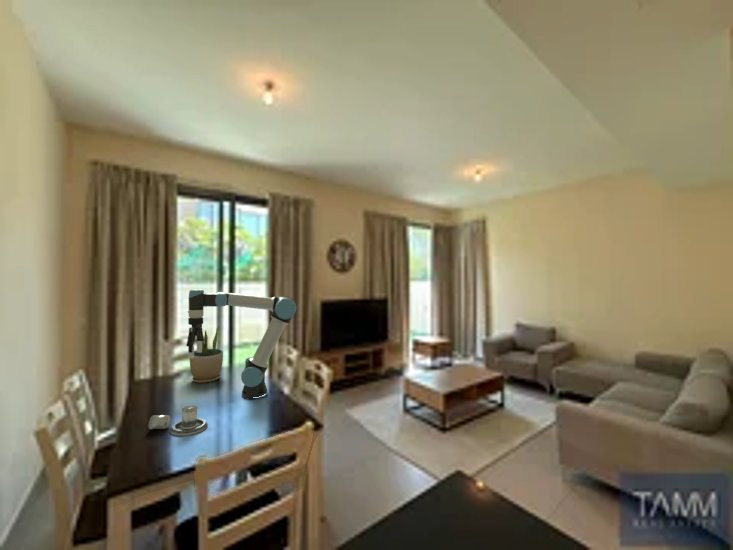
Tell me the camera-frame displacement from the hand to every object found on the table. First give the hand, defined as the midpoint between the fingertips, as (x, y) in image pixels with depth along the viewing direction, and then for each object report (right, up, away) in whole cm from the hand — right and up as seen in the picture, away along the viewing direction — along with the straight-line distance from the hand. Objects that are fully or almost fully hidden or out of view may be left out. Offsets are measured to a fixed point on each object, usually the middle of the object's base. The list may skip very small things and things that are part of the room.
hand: (195, 355), depth 194 cm
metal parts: (+6, -28, -28) cm, 41 cm away
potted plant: (-16, -28, +46) cm, 56 cm away
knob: (+11, -28, -28) cm, 41 cm away
